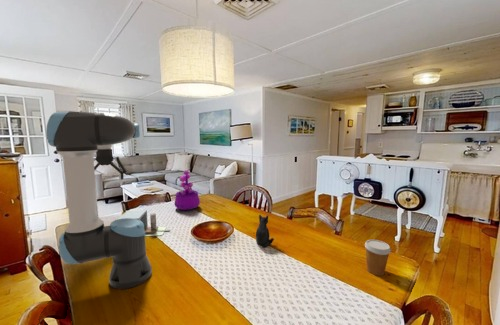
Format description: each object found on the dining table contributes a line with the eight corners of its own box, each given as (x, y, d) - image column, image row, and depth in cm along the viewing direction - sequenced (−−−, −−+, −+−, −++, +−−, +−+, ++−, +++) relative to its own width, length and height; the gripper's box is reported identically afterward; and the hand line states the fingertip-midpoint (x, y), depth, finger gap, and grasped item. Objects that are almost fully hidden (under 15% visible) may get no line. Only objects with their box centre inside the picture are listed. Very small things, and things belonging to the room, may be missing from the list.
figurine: (274, 241, 123) (275, 214, 121) (272, 250, 113) (273, 221, 111) (257, 239, 124) (257, 213, 123) (253, 248, 115) (253, 219, 113)
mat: (162, 235, 129) (162, 235, 129) (143, 236, 127) (143, 235, 127) (166, 227, 140) (166, 227, 140) (149, 228, 138) (149, 227, 138)
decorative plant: (186, 214, 163) (184, 173, 159) (169, 209, 173) (167, 170, 169) (204, 207, 178) (204, 169, 174) (188, 203, 188) (187, 167, 184)
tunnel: (167, 236, 128) (166, 217, 126) (104, 239, 123) (102, 219, 122) (172, 226, 141) (171, 209, 140) (115, 229, 137) (114, 211, 136)
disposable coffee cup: (388, 281, 89) (390, 252, 88) (361, 273, 94) (363, 246, 93) (388, 269, 97) (391, 242, 96) (364, 262, 102) (365, 237, 101)
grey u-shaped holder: (154, 233, 130) (153, 216, 129) (125, 234, 128) (123, 217, 127) (158, 228, 137) (157, 212, 136) (130, 229, 135) (128, 213, 134)
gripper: (130, 147, 133) (132, 183, 136) (78, 148, 123) (81, 186, 126) (129, 148, 126) (131, 185, 129) (74, 149, 116) (77, 189, 119)
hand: (106, 186), depth 127 cm, fingers open, 13 cm apart
